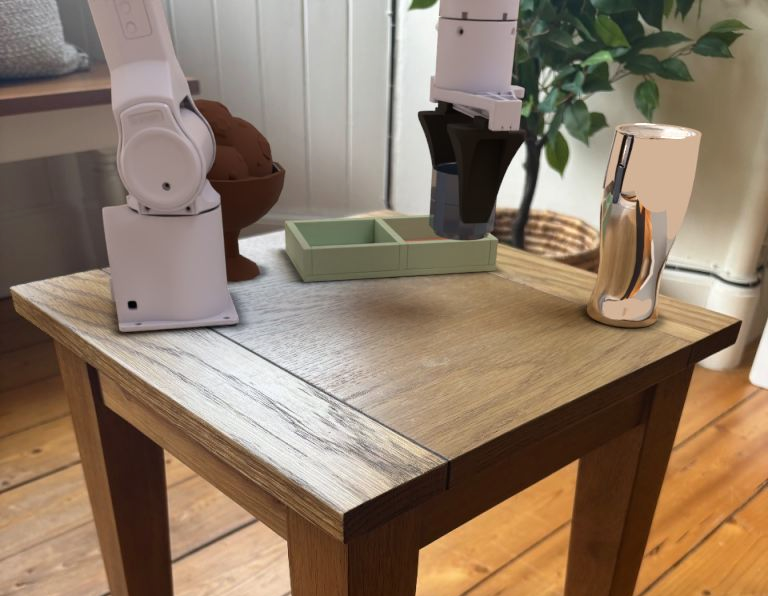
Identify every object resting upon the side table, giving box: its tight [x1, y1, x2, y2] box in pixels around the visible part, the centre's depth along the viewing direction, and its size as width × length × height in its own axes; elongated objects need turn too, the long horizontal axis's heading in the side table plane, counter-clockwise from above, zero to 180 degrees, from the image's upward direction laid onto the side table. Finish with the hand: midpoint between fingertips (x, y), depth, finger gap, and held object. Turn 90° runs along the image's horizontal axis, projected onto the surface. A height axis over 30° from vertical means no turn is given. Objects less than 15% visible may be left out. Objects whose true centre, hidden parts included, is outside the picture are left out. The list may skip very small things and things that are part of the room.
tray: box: [284, 214, 499, 283], centre depth 82 cm, size 19×10×3 cm, turn 106°
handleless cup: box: [428, 162, 498, 241], centre depth 66 cm, size 5×5×5 cm
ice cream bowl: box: [192, 98, 286, 283], centre depth 74 cm, size 11×11×15 cm
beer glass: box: [586, 122, 703, 329], centre depth 67 cm, size 7×7×15 cm
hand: (462, 212), depth 67 cm, fingers closed on handleless cup, 5 cm apart
